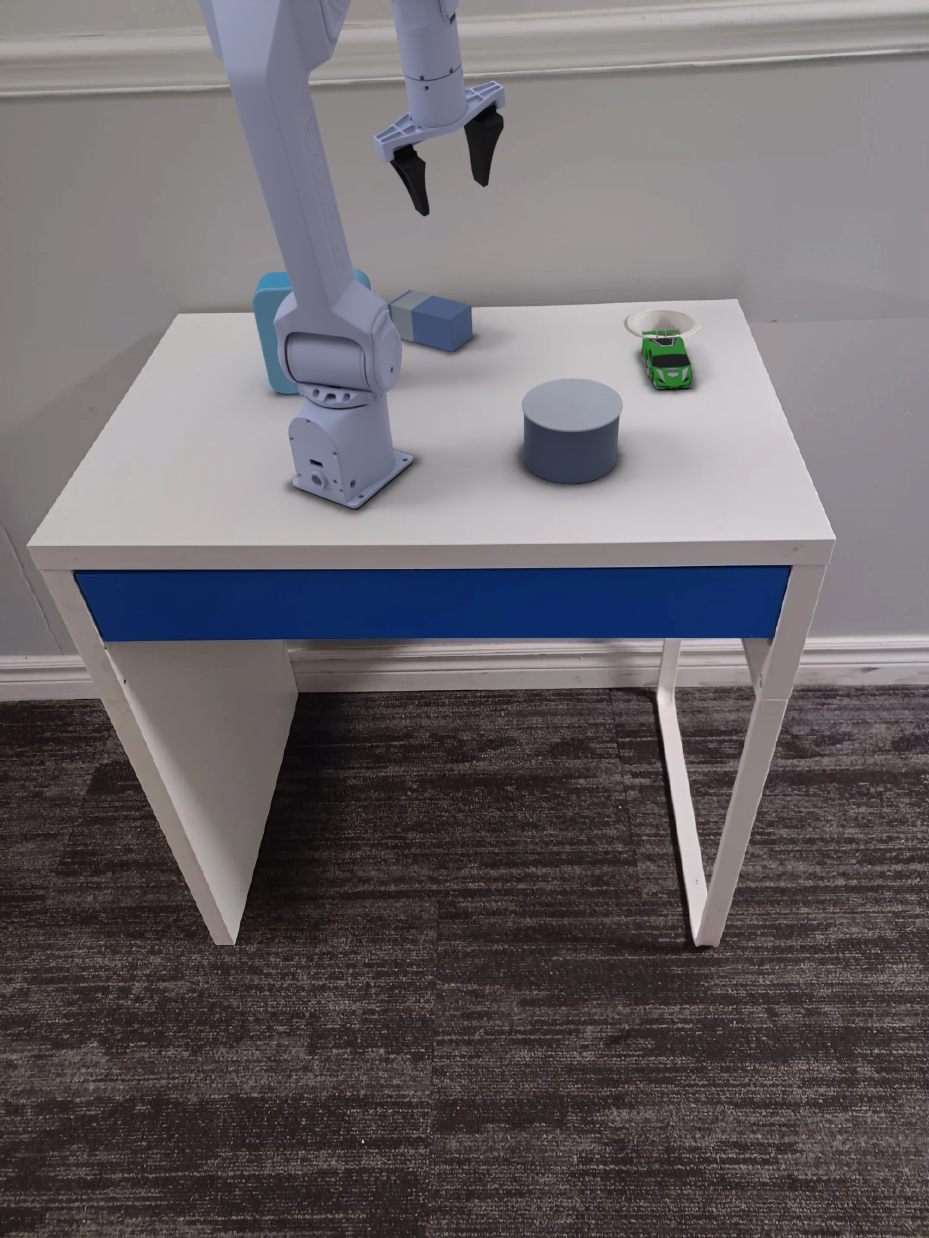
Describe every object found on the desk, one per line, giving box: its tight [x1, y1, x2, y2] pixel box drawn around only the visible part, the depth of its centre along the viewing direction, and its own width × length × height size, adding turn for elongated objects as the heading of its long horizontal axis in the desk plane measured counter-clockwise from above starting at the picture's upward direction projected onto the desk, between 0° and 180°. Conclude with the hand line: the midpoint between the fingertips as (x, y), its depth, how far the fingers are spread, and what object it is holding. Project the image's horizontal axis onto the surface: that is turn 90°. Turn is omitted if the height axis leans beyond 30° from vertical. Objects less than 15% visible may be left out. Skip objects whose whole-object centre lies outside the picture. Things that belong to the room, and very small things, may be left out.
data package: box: [251, 268, 372, 395], centre depth 96 cm, size 12×4×12 cm, turn 90°
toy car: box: [641, 328, 693, 390], centre depth 98 cm, size 10×5×2 cm, turn 0°
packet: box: [387, 289, 474, 353], centre depth 106 cm, size 5×9×4 cm, turn 57°
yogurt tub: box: [521, 377, 624, 485], centre depth 85 cm, size 9×9×6 cm
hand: (451, 197), depth 97 cm, fingers open, 7 cm apart
